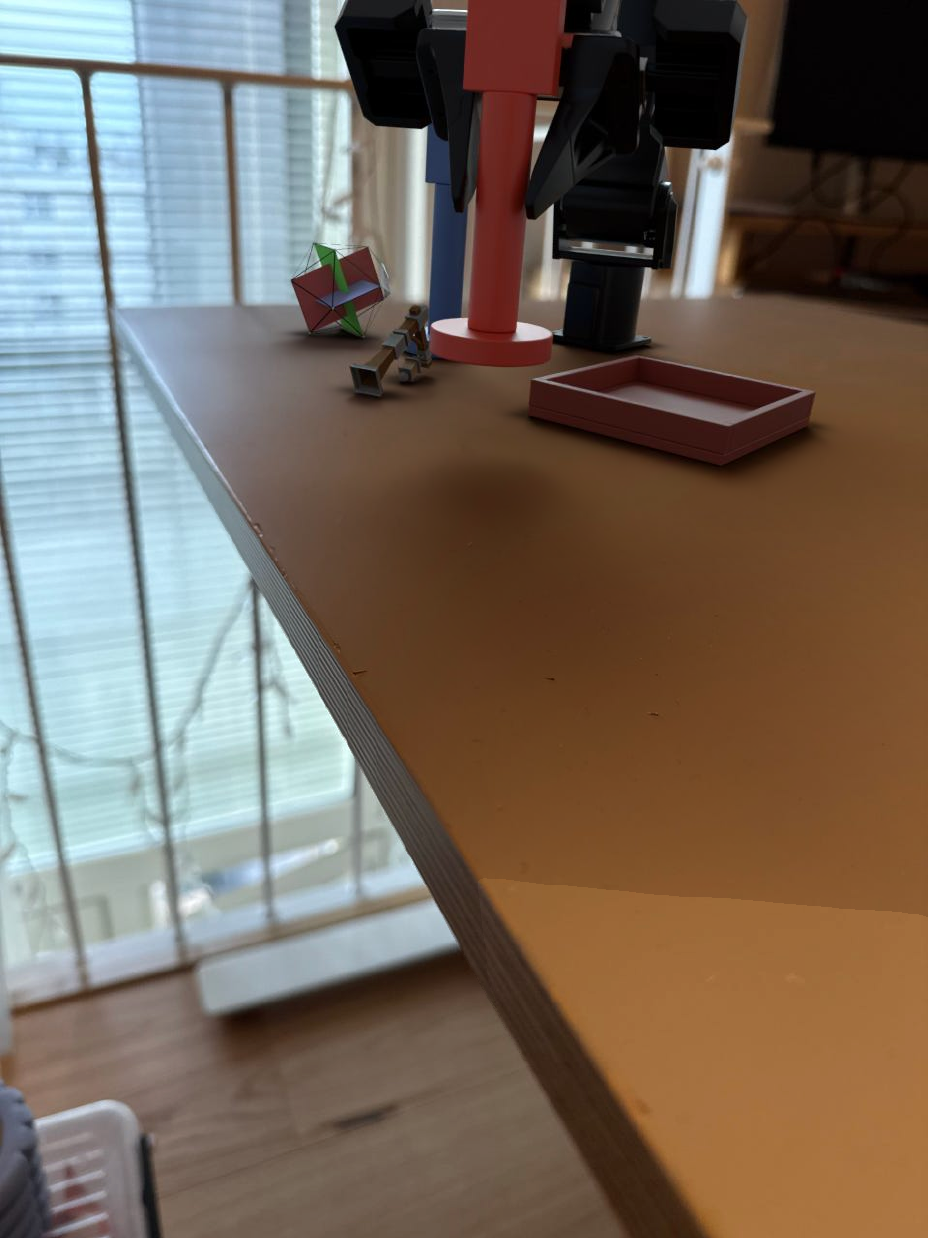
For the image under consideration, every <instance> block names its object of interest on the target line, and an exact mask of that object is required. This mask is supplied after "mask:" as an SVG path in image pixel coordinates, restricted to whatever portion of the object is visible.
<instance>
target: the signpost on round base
mask: <svg viewBox="0 0 928 1238" xmlns="http://www.w3.org/2000/svg"><path fill="white" fill-rule="evenodd" d="M566 2H567V0H467V10H466V11H467V27H466V44H465V62H464V80H463V90H466V91H471V92H483V94H482V110H481V125H480V140H479V156H478V171H477V186H476V190H475V204H474V218H473V219H474V220H473V232H472V233H473V234H472V248H471V249H472V250H471V265H470V279H469V295H468V297H469V298H468V311H467V317H461V318H454V319H445V320H440V321H436V322H434V323H432V324H431V326H430V344H429V349H430V352H431V353H433V354H434V355H436V356H438V357H441V358H444V359H443V360H447V361H450V362H455V363H461V364H466V365H472V366H479V367H493V368H494V367H495V368H524V367H533V366H540V365H543V364H545V363H548V362H549V361H550V360H551V359H552V350H553V340H554V339H553V334H552V332H551V331H552V330H549V329H548V328H545V327H542V326H539V325H536V324H532V323H527V322H521V321H518V317H519V309H520V308H519V307H520V297H521V284H522V273H523V262H524V261H523V260H524V253H525V252H524V249H525V241H526V240H525V239H526V228H527V227H526V226H527V217H526V210H525V199H526V195H527V191H528V186H529V182H530V178H531V174H532V160H533V151H534V149H533V148H534V139H535V138H534V137H535V127H536V117H537V115H536V114H537V104H538V100H537V96H552V97H556V96H557V94H558V84H559V73H560V63H561V53H562V43H563V32H564V22H565V12H566Z"/></svg>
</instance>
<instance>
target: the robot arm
mask: <svg viewBox="0 0 928 1238" xmlns="http://www.w3.org/2000/svg"><path fill="white" fill-rule="evenodd" d="M748 25H749V17H748V15H747V13H746V11H744V9H743V7H742V6H741V4H740V3H739V1H738V0H567V2H566V12H565V22H564V32H563V43H562V53H561V63H560V73H559V84H558V94H557V96H556V97H552V96H537V101H543V102H556V103H557V102H558V104H557V106H556V109H555V110H554V111H555V112H554V114H553V117H552V119H551V122H550V124H549V127H548V130H547V132H546V135H545V137H544V140H543V142H542V145H541V148H540V150H539V153H538V155H537V158H536V161H535V163H534V166H533V168H532V170H531V173H530V182H529V186H528V191H527V195H526V199H525V210H526V217H527V218H526V220H530V221H536V220H537V219H538V218H540V217H541V216H542V215H543V214H544V213H545V212H546V211H548V210H549V208H551V207H552V206H553V208H552V243H551V244H552V245H551V246H552V248H551V253H552V254H551V259H552V260H557V261H558V260H559V261H560V260H562V259H563V260H571V261H570V269H569V278H568V283H567V285H566V286H567V287H566V295H565V305H564V313H563V322H562V329H555V330H550V331H551V332H552V334H553V340H555V341H560V342H564V343H570V344H574V345H579V346H583V347H589V348H594V349H599V350H604V351H609V352H617V351H621V350H622V351H623V350H626V349H631V348H636V347H640V346H645V345H650V344H652V339H653V338H652V337H651V336H647V335H642V334H636V333H637V328H638V327H637V326H638V322H639V321H638V320H639V314H640V306H641V300H642V299H641V298H642V294H643V293H642V292H643V286H644V278H645V272H646V269H651V270H653V271H654V270H655V271H659V270H670V269H671V268H672V263H673V256H674V250H675V243H676V233H677V220H678V210H679V204H678V202H677V201H676V200H675V198H674V191H673V182H672V181H668V177H669V171H668V162H667V161H668V160H667V152H666V148H676V149H688V150H689V149H690V150H691V149H692V150H703V151H718V150H720V149H721V148H723V147H724V146H725V145H728V143H730V141H731V138H732V137H731V136H732V132H733V127H734V123H735V119H736V115H737V109H738V103H739V98H740V92H741V91H740V90H741V82H742V74H743V66H744V58H745V51H746V50H745V49H746V43H747V42H746V41H747V33H748ZM466 27H467V10H466V9H465V10H463V9H462V10H461V9H433V4H432V0H344V2H343V4H342V7H341V9H340V11H339V14H338V16H337V19H336V22H335V24H334V25H333V28H334V30H335V34H336V37H337V39H338V43H339V46H340V49H341V52H342V55H343V59H344V61H345V64H346V65H345V66H346V68H347V72H348V74H349V77H350V80H351V83H352V86H353V90H354V92H355V95H356V98H357V99H356V100H357V102H358V104H359V108H360V111H361V114H362V117H363V118H364V119H366V120H367V121H369V122H370V123H371V124H372V125H374V126H375V127H383V128H398V129H411V130H424V129H425V128H428V125H430V124H433V128H434V132H435V134H436V135H437V137H438V138H440V139H441V140H443V141H447V142H448V145H449V165H450V185H451V198H452V203H453V207H454V211H455V212H456V213H463V212H464V211H465V209H466V208H467V206H468V207H469V204H470V203H471V202H472V200H473V198H474V195H475V194H476V186H477V171H478V156H479V140H480V125H481V110H482V94H483V92H471V91H466V90H463V80H464V62H465V44H466ZM573 242H582V243H593V244H602V245H612V246H613V245H614V246H622V247H623V246H624V247H633V248H642V249H643V248H644V249H652V254H650V253H641V252H631V251H622V250H621V251H620V250H612V249H602V248H593V247H592V248H591V247H581V246H573Z"/></svg>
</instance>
